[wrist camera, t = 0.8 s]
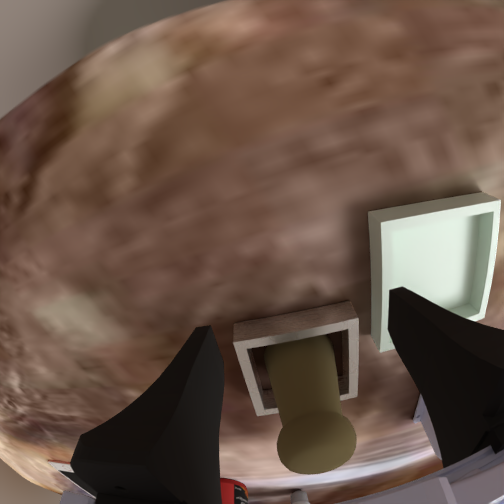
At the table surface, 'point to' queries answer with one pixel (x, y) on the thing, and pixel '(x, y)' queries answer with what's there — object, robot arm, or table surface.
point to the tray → (433, 256)
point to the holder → (295, 329)
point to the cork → (309, 406)
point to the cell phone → (72, 475)
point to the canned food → (233, 492)
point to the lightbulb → (299, 497)
